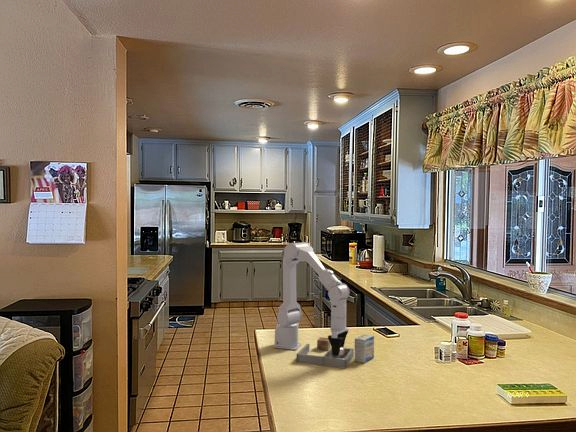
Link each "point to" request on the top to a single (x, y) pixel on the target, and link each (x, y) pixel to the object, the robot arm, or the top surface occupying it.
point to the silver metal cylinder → (341, 354)
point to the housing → (325, 358)
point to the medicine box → (364, 348)
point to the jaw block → (323, 344)
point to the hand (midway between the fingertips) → (338, 351)
